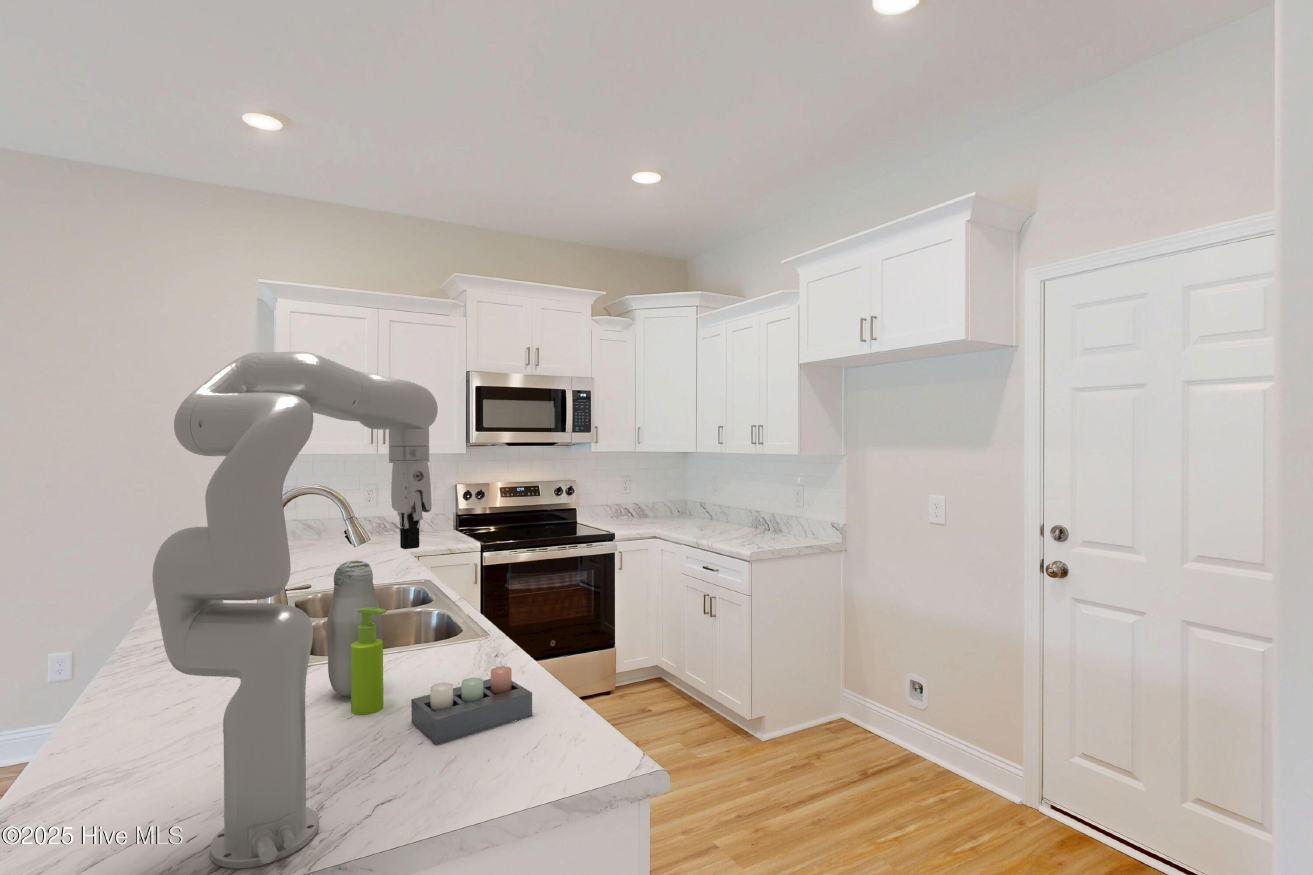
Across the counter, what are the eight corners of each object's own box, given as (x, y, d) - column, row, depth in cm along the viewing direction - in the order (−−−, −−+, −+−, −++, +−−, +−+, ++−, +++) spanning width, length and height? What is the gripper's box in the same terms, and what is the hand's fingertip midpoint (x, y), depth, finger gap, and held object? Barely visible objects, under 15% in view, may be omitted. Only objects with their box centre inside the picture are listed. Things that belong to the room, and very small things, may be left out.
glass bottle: (352, 682, 147) (351, 555, 146) (391, 688, 143) (390, 558, 143) (317, 700, 137) (316, 564, 137) (357, 705, 134) (356, 566, 134)
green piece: (486, 707, 127) (486, 681, 127) (466, 713, 125) (466, 686, 125) (477, 701, 130) (477, 676, 130) (458, 707, 128) (458, 680, 128)
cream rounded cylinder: (456, 713, 123) (456, 687, 123) (435, 720, 121) (435, 692, 121) (448, 707, 126) (447, 680, 126) (427, 712, 124) (427, 686, 124)
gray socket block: (532, 715, 129) (532, 692, 129) (435, 745, 117) (435, 719, 117) (503, 697, 138) (503, 675, 138) (411, 722, 126) (411, 699, 126)
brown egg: (515, 695, 131) (515, 670, 131) (496, 700, 128) (496, 675, 128) (505, 689, 134) (505, 664, 134) (487, 694, 132) (487, 669, 132)
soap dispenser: (376, 716, 129) (375, 613, 129) (344, 713, 130) (343, 611, 130) (394, 704, 135) (393, 605, 135) (363, 701, 136) (362, 603, 136)
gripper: (442, 455, 128) (443, 550, 128) (414, 454, 140) (415, 541, 140) (403, 456, 124) (403, 555, 124) (377, 455, 135) (378, 545, 135)
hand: (409, 547), depth 132 cm, fingers closed
